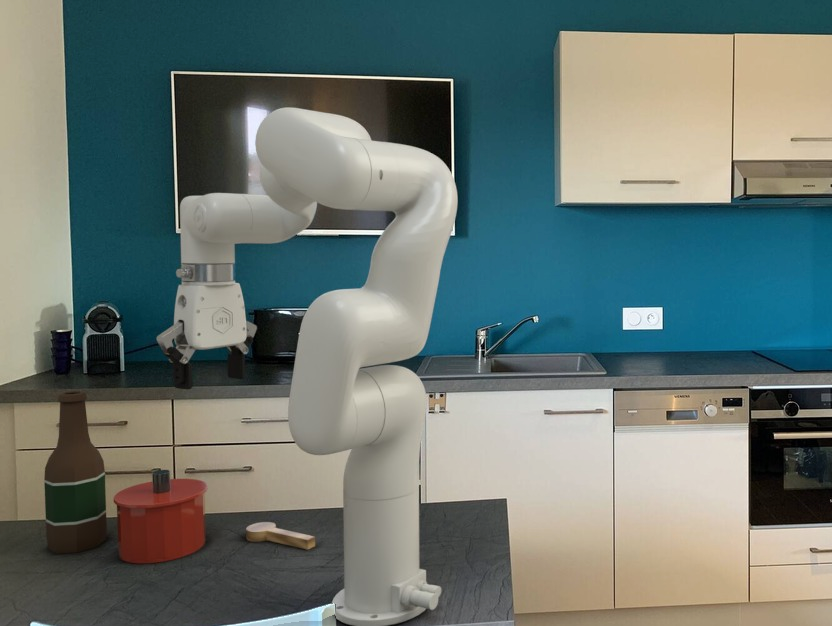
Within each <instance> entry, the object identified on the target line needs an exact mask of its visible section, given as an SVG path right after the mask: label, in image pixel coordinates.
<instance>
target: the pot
mask: <svg viewBox="0 0 832 626" xmlns="http://www.w3.org/2000/svg"><path fill="white" fill-rule="evenodd" d="M116 523H117V549H118V550H117V552H118V556H119V557H118V558H119V559H120V560H122V561H124V562H126V563H131V564H155V563H157V564H158V563H163V562H168V561H173V560H178V559H180V558H181V559H182V558H185V557H186V556H189V555H191V554H194V553H196V552H198V551H200V549H201V548H203V547H204V545H205V544H206V538H207V532H206V531H207V529H206V524H207V523H206V492H205V493H204V494H202V495H201V496H199V497H197V498H194V499H192V500H189V501H186V502H182V503H178V504H173V505H168V506H162V507H153V508H127V507H121V506H118V505H116Z"/></svg>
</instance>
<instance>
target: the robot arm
mask: <svg viewBox="0 0 832 626" xmlns="http://www.w3.org/2000/svg"><path fill="white" fill-rule="evenodd" d="M254 143H255V144H254V145H255V152H256V155H257V158H258V160H259V162H260V163H261V166H260V168H259V179H260V183H261V186H262V189H263V191H264V193H265V194H266V195H265V194H251V193H232V192H231V193H230V192H210V193H205V194H203V195H188V196H185V197H184V198H183V199H181V201H180V205H179V221H180V222H179V223H180V225H179V226H180V228H179V229H180V265H181V266H180V268H178V269H176V271H175V275H176V277H177V278H180V279H181V284H178V287H177V292H176V297H175V303H174V312H173V313H174V314H173V325H171V326H170V327H169V328H167V329H166V330H164V331H163V332H161V333H160V334H159V335H157V336H156V341H157V344H158V345H159V347H160V349H161V353H162V354H163V355H164V356H166V358H167V359H168V361H169V363H173V366H172V367H173V384H174V388H175V389H179V390H191V389H193V364H192V362H190V359H191V358H192V356H193V355H194V353H195V351H196V350H200V351H201V350H204V351H205V350H211V349H212V350H213V349H219V348H225V347H226V348H227V349H228V351H230V352H229V353H227V356H226V357H227V359H226V360H227V362H226V363H227V377H228V378H229V379H236V380H244V379H245V377H246V361H245V360H246V357H245V355H247V354H248V353H249V348H250V347H251V345H252V344H253V342H254V337H255V334H256V332H257V330H258V326H257V325H256V324H254V323H252V322H250V321H249V320H247V317H246V307H245V300H244V296H243V292H242V287H241V284H240V283H239V282H236V250H235V249H236V247H235V245H237V244H238V245H239V244H264V245H265V244H266V245H268V244H278V243H282V242H285V241H288V240H289V239H291V238H293V237H295V236H297V235H298V234H300V233H301V232H303V231H304V230H306V229H307V228H308V227H309V226H310V225H311V224H312V222H313V220H314V218H315V215H316V212H317V208H318V204H319V205H322V206H324V207H328V208H331V209H337V210H345V211H347V210H348V211H350V210H351V211H368V212H369V211H370V212H371V211H372V212H392V213H394V214H395V217H394V219H393V220H392V221H391V222H390V223H389V224H388V225H387V226H386V227H385V229H384V230H383V231H382V233H381V234H380V236H379V238H378V239H377V241H376V242H375V245H374V248H373V250H372V254H371V258H370V266H369V271H368V275H367V278H366V281H365V284H363V286H361V287H360V288H342V289H335V290H330V291H327V292H324V293H323V294H321V295H320V296H318V297H317V298H315V299H314V300H313V302H311V303H310V305H309V306H308V308H307V310H306V312H305V313H304V316H303V318H302V320H301V324H300V329H299V334H298V338H297V339H298V340H297V344H296V345H297V346H296V351H295V358H294V364H293V365H294V366H293V373H292V378H291V386H290V390H289V397H288V408H287V420H288V429H289V432H290V435H291V437H292V439H293V441H294V443H295V445H296V446H297V447H298V448H299V449H300V450H301V451H302V452H305V453H306V454H309V455H313V456H328V455H333V454H338V453H342V452H345V451H346V452H347V451H350V452H349V454H348V457H347V460H346V463H345V466H344V471H343V478H342V479H343V480H342V500H343V502H342V503H343V504H342V505H343V507H342V509H343V513H342V515H343V583H344V584H343V586H344V587H343V588H342V589H341V590H340V591H338V592H337V593H336V594H335V596H333V598H332V601H331V604H332V603H335V604H336V618H335V619H336V620H338V621H339V622H341V623H343V624H346V625H349V626H394V625H397V624H400V623H404V622H407V621H410V620H412V619H414V618H415V617H417V616H419V615H421V614H422V613H424V612H426V610H430V611H433V610H435V609H436V608H437V606H438V604H439V597H440V596H441V594H442V587H441V586H440V585H435V584H429V583H428V581H427V570H426V569H423V568H420V453H421V444H422V443H421V442H422V435H423V431H424V426H425V422H426V421H425V420H426V414H427V405H428V404H427V403H428V402H427V401H428V400H427V393H426V392H427V391H426V389H425V385H424V383H423V382H422V380H421V378H420V377H419V376H418V375H417V374H416V372H414V371H413V370H411V369H409V368H407V367H404V366H401V365H395V364H390V363H395V362H400V361H404V360H409V359H411V358H413V357H416V356H417V355H418V354H420V352H421V351H423V349H424V347H425V345H426V343H427V340H428V336H429V333H430V328H431V323H432V318H433V313H434V308H435V304H436V297H437V293H438V287H439V283H440V282H439V281H440V276H441V270H442V264H443V260H444V256H445V253H446V250H447V247H448V244H449V241H450V238H451V236H452V232H453V229H454V226H455V221H456V217H457V211H458V204H459V203H458V202H459V201H458V189H457V185H456V182H455V179H454V176H453V174H452V171H450V168H449V167H448V166H447V164H446V163H445V162H444V161H443V159H441V158H440V157H439V156H437V155H435V154H434V153H431V152H430V151H428V150H427V149H426V150H425V149H423V148H419V147H418V146H417V147H416V146H413V145H407V144H404V143H403V144H402V143H395V142H388V141H378V140H372V138H371V136H370V134H369V132H368V131H367V130H366V128H365V127H364V126H363V125H361V123H359V122H357V121H356V120H354V119H352V118H350V117H347V116H344V115H341V114H335V113H329V112H323V111H317V110H310V109H305V108H300V107H299V108H298V107H291V106H290V107H289V106H287V107H281V108H277V109H275V110H273V111H271V112H270V113H269V114H267V115H266V116H265V117H264V118H263V119H262V121H260V124H259V126H258V128H257V130H256V134H255V141H254ZM173 340H174V344H175V345H176V347H175V346H174V344H173Z"/></svg>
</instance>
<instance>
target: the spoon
mask: <svg viewBox="0 0 832 626" xmlns="http://www.w3.org/2000/svg"><path fill="white" fill-rule="evenodd" d="M245 531H246V532H245V537H246V539H245V540H247V541H248V542H253V543H256V542H257V543H259V542H260V543H261V542H265V541H269V542H272V543H277V544H282V545H284V546H285V545H286V546H290V547H294V548H299V549H301V550H307V551H308V550H310V549H313V548H314V547H316V536H314V535H309V534H305V533H300V532H298V531H297V532H296V531H293V530H292V531H291V530H287V529H282V528H278V527H277V525H276V523H275V522H271V521H261V522H255V523H252V524H250V525H248V526H247V527H246V528H245Z"/></svg>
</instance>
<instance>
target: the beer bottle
mask: <svg viewBox="0 0 832 626" xmlns="http://www.w3.org/2000/svg"><path fill="white" fill-rule="evenodd" d="M87 399H88V395H87V393H86V392H84V391H80V390H73V391H65V392H63V393H60V394H58V397H57V402H58V403H59V419H58V420H59V421H58V423H59V424H58V438H57V444H56V447H55V448H54V450H53V451H52V453H51V454H50V455H49V457H48V459H47V461H46V464H45V467H44V478H43V482H44V483H43V484H44V509H45V534H46V537H45V538H46V546H47V549H48V550H49V551H50V552H53V553H55V554H56V555H62V554H64V555H65V554H77V553H82V552H85V551H89V550H91V549H95V548H98V547H99V546H100V545H101V544H103V542H105V541H106V539H107V527H108V526H107V523H108V522H107V495H106V492H107V491H106V470H105V461H104V459H103V456H102V455H101V452H100V450H99V449H98V448H97V447H96V446H95V445H94V444H93V443H92V441H91V438H90V434H89V426H88V415H87V408H86V407H87V406H86V400H87Z"/></svg>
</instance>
